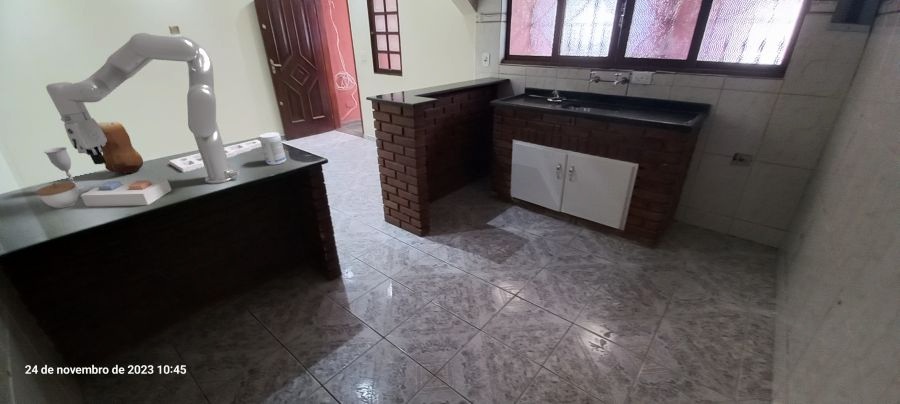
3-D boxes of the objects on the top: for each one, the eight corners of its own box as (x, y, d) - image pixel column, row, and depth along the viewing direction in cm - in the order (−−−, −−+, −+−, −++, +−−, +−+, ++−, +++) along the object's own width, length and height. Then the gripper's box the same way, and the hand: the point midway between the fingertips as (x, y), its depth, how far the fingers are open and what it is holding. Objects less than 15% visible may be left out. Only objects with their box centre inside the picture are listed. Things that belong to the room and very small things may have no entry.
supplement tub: (287, 158, 188) (281, 131, 182) (284, 164, 180) (277, 136, 173) (268, 159, 187) (261, 132, 180) (264, 166, 178) (256, 137, 172)
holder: (257, 143, 213) (256, 139, 212) (272, 149, 203) (271, 145, 202) (170, 165, 182) (168, 160, 181) (183, 173, 172) (181, 168, 171)
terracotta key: (152, 187, 147) (149, 180, 146) (143, 192, 143) (140, 185, 142) (140, 187, 147) (137, 180, 146) (131, 192, 143) (128, 185, 141)
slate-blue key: (123, 187, 147) (120, 181, 146) (113, 193, 143) (110, 186, 141) (111, 188, 147) (108, 181, 145) (101, 193, 142) (97, 186, 141)
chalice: (90, 186, 157) (70, 148, 149) (72, 193, 151) (50, 153, 143) (80, 184, 159) (60, 146, 151) (61, 190, 154) (39, 151, 145)
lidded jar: (46, 205, 141) (33, 184, 137) (82, 196, 148) (71, 176, 144) (47, 213, 135) (34, 191, 130) (85, 204, 142) (73, 183, 138)
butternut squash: (137, 166, 180) (115, 117, 168) (152, 170, 175) (131, 120, 163) (104, 175, 169) (78, 124, 157) (119, 180, 164) (94, 127, 152)
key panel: (171, 190, 153) (167, 179, 151) (148, 204, 141) (143, 193, 138) (115, 191, 152) (110, 180, 150) (86, 206, 140) (80, 195, 138)
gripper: (68, 122, 124) (93, 170, 133) (103, 112, 138) (124, 156, 146) (46, 123, 124) (73, 171, 133) (84, 113, 138) (106, 157, 146)
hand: (100, 163), depth 139 cm, fingers closed
